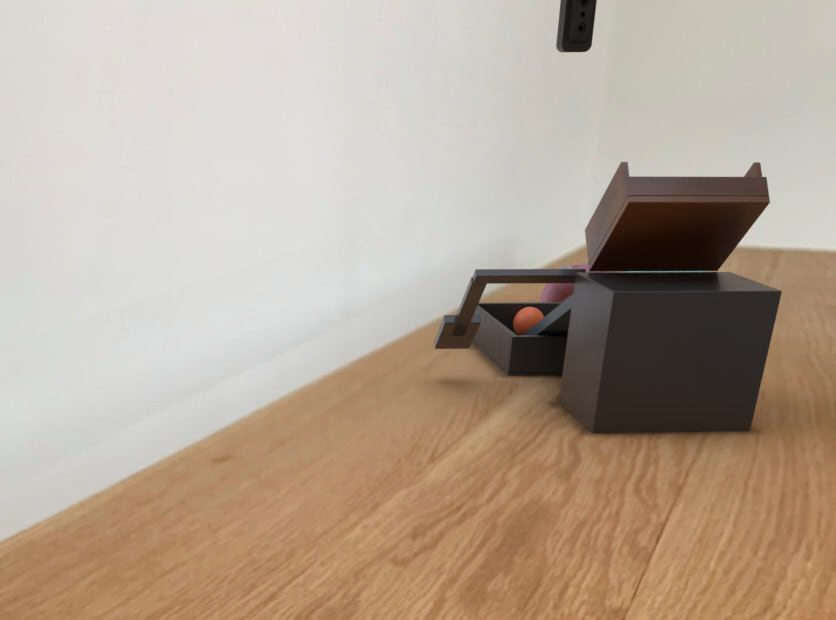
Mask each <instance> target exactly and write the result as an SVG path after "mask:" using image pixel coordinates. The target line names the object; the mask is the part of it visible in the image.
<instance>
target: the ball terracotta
mask: <svg viewBox="0 0 836 620" xmlns="http://www.w3.org/2000/svg"><path fill="white" fill-rule="evenodd" d="M543 318H544V316H543V314H542V312H541V311H540V310H538V309H537V308H534V307H526V308H523V309H522V310H520V311H519V312H518V313H517V314H516V316H515V318H514V321H513V328H514V331H515V333H516V335H523V334H524V333H526V332H527V331H528V330H529V329H531V328H532V327H533V326H534V325H536V324H537V323H538V322H539V321H540V320H542V319H543Z"/></svg>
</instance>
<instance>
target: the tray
mask: <svg viewBox="0 0 836 620" xmlns="http://www.w3.org/2000/svg"><path fill="white" fill-rule="evenodd" d="M561 303H563V302H539V301H535V302H534V301H530V302H523V301H522V302H521V301H519V302H479V303H478V306H477V308H476V310H475V313H474V315H480V319H481V324H480V326H479V328H478V331H477V333H476V335H475V337H474V340H473V342H472V344H473V345H474V346H475V347H476V348H477V349H478V350H479V351H480V352H482V353H483V355H485V356H486V357H487V358H488V359H489V360H490V362H492V363H494V365H496V367H498V368H499V369H500V370H501V371H502V372H503V373H504V374H505V375H507V376H508V377H515V376H516V377H517V376H519V377H520V376H523V377H526V376H529V377H531V376H562V374H563V366H564V359H565V352H566V344H567V337H568V335H516V333H515V331H514V328H513V321H514V318H515V316H516V314H517V313H518V312H519V311H520V310H522V309H523V308H526V307H534V308H537V309H538V310H540V311H541V312H542V314H543V316H544V317H545V316H547V315H548V314H549V313H550V312H552V311H553V310H554V309H555V308H556V307H558V306H559V305H560V304H561Z"/></svg>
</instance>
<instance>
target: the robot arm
mask: <svg viewBox="0 0 836 620" xmlns="http://www.w3.org/2000/svg"><path fill="white" fill-rule="evenodd" d="M597 2H598V0H560V1H559V13H558V23H557V32H556V44H555V46H556V50H557V52H559V53H587V52H588V51H589V50H590V49H591V48H592V45H593V36H594V28H595V21H596V20H595V19H596V11H597Z"/></svg>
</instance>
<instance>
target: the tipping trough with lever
mask: <svg viewBox="0 0 836 620" xmlns="http://www.w3.org/2000/svg"><path fill="white" fill-rule="evenodd" d="M629 169H630V168H629V163H628V161H621V162H620V163H619V165H618V167H617V169H616V171H615V172H614V174H613V176H612V178H611V180H610V182H609V183H608V186H607V187H606V189H605V191H604V193H603V195H602V197H601V198H600V200H599V202H598V204H597V206H596V208H595V210H594V212H593V214H592V216H591V217H590V219H589V221H588V223H587V225H586V227H585V229H584V235H585V236H584V237H585V244H586V245H585V246H586V255H587V263H588V265H589V271H590V272H603V271H708V272H719V270H720V269H721V267H722V266H723V265H724V263H725V262H727V259H728V258H729V257H730V256H731V254H732V253H733V252H734V250H735V249H736V248H737V246H738V245H739V244H740V243H741V241H742V240H743V238H744V237H745V236H746V235H747V233H749V231H750V230H751V228H752V227H753V225H754V224H755V223H756V221H757V220H758V219H759V217H761V215H762V214H763V212H764V211H765V210H766V209H767V207H768V206H769V205H770V203H771V199H770V192H769V185H768V184H769V183H768V178H767V176H763V172H762V165H761V162H759V161H757V162H756V161H754V162H753V163H752V164H751V166H750V167H749V168H748V170H747V171H746V173H745V174H744V176H633V175H631V176H630V171H629ZM577 272H586V269H559V268H484V269H483V268H478V269H477V268H476V269H475V270H474V272H473V275H472V276H471V277H470V279H469V282H468V284H467V286H466V290H465V292H464V294H463V296H462V299H461V302H460V305H459V307H458V309H457V312H456V313H455V314H444V315H443V318H442V319H441V323H440V325H439V328H438V330H437V333H436V334H435V335H436V336H435V338H434V341H433V342H434V349H435V350H469V349H470V348H471V346H472V344H473V343H472V342H473V340H474V337H475V335H476V333H477V331H478V328H479V326H480V324H481V319H480V315H474V313H475V310H476V308H477V306H478V303H480V301H481V299H482V296H483V294H484V292H485V289H486V287H487V285H488V284H490V285H491V284H493V285H494V284H495V285H496V284H497V285H498V284H500V285H502V284H503V285H505V284H506V285H507V284H508V285H509V284H510V285H511V284H546V283H575V278H576V273H577Z"/></svg>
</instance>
